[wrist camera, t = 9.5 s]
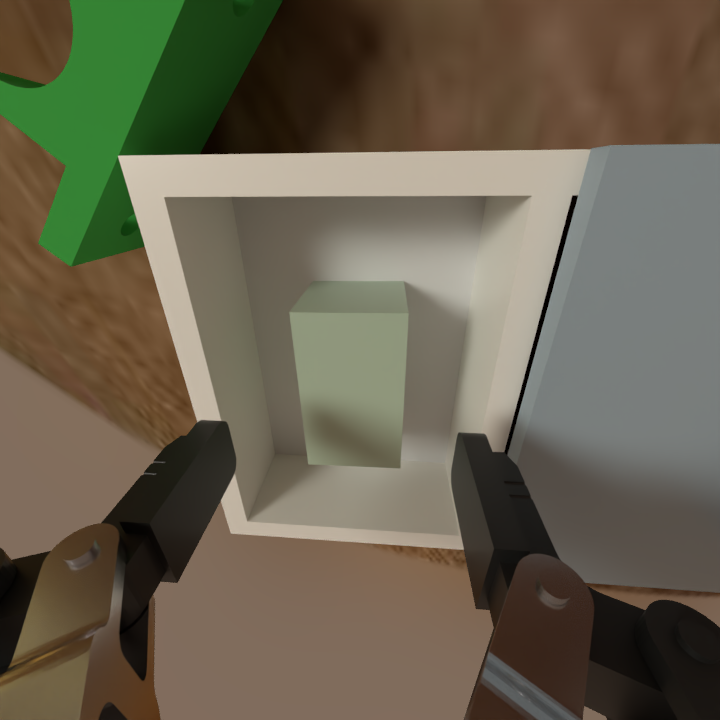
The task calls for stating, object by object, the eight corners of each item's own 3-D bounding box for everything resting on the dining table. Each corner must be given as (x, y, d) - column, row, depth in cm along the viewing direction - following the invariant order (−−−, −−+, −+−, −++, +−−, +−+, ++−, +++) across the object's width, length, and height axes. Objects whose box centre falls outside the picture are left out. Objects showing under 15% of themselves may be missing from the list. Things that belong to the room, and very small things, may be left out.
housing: (885, 156, 12) (1187, 141, 7) (679, 481, 19) (765, 570, 15) (206, 163, 13) (117, 155, 9) (264, 459, 21) (230, 533, 17)
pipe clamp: (197, -135, 10) (66, -355, 6) (297, -19, 11) (244, -138, 7) (73, 183, 14) (-52, 184, 10) (152, 245, 15) (68, 268, 11)
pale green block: (403, 281, 14) (408, 313, 11) (398, 411, 18) (400, 468, 14) (313, 280, 15) (289, 312, 11) (324, 409, 18) (308, 464, 15)
